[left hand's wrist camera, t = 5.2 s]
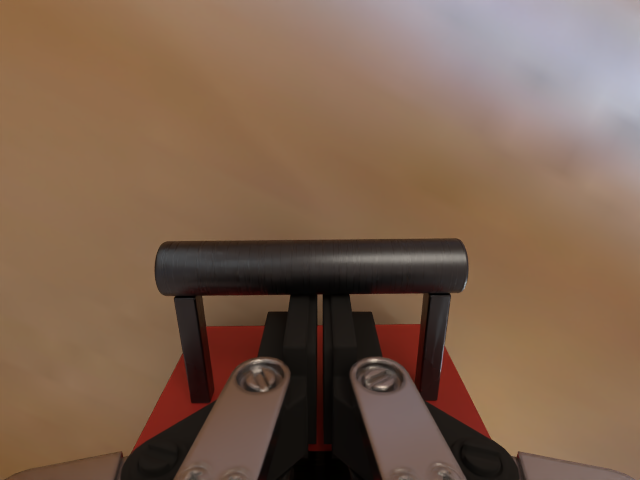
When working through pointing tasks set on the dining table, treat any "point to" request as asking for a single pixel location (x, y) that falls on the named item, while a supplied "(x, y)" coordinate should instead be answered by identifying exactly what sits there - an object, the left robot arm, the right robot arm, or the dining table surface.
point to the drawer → (317, 278)
